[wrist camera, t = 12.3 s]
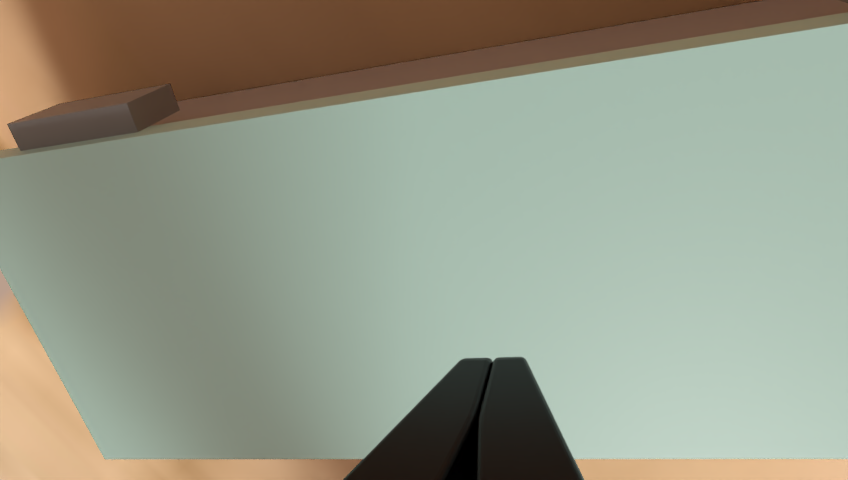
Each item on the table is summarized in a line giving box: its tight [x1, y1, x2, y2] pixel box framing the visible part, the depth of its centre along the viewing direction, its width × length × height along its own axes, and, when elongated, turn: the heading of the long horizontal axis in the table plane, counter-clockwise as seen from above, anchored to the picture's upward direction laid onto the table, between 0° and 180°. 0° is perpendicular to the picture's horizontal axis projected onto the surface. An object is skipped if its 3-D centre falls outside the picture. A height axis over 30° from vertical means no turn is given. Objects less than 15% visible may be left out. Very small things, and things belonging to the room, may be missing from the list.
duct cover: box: [0, 0, 848, 459], centre depth 13 cm, size 9×22×2 cm, turn 102°
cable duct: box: [151, 0, 848, 126], centre depth 15 cm, size 8×22×4 cm, turn 102°
